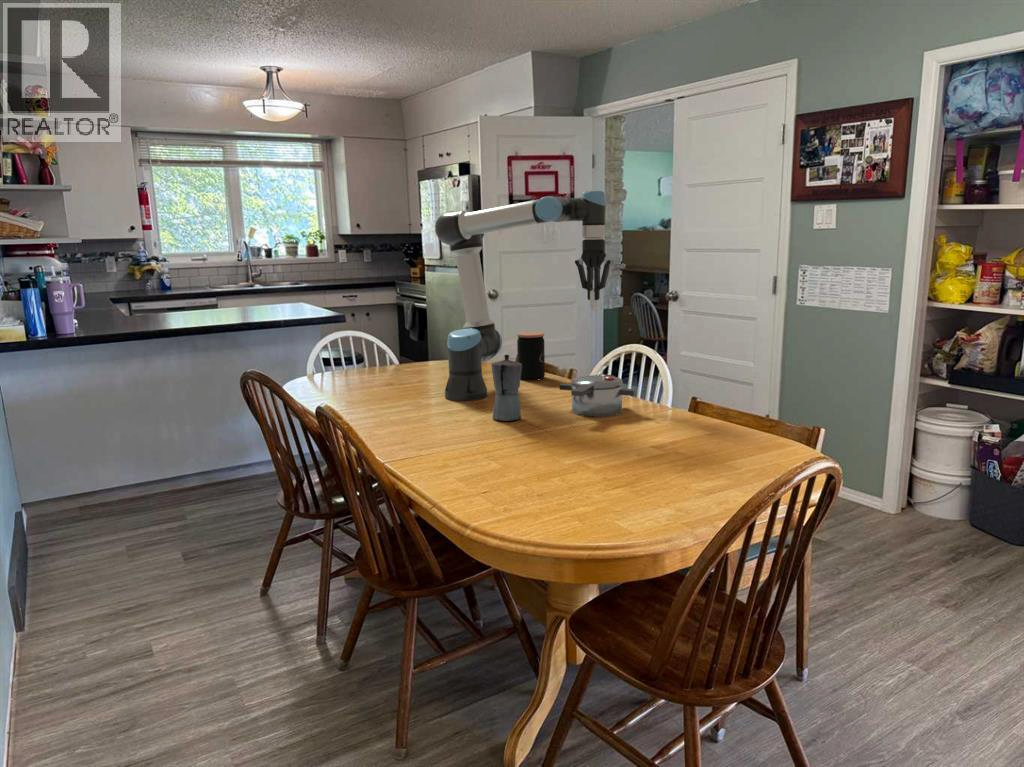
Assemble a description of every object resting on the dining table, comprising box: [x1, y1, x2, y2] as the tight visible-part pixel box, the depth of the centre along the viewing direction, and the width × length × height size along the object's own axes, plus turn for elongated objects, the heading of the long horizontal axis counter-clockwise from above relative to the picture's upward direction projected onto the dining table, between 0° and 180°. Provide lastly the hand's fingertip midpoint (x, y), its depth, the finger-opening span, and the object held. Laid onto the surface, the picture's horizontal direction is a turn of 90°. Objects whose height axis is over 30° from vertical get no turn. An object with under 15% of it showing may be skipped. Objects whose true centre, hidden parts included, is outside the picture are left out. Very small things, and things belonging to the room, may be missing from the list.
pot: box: [558, 382, 637, 418], centre depth 223 cm, size 25×18×9 cm
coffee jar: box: [516, 331, 546, 381], centre depth 274 cm, size 11×11×18 cm
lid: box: [570, 373, 623, 396], centre depth 218 cm, size 16×26×2 cm, turn 153°
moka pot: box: [491, 354, 522, 422], centre depth 213 cm, size 10×15×20 cm, turn 174°
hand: (593, 309), depth 236 cm, fingers closed
